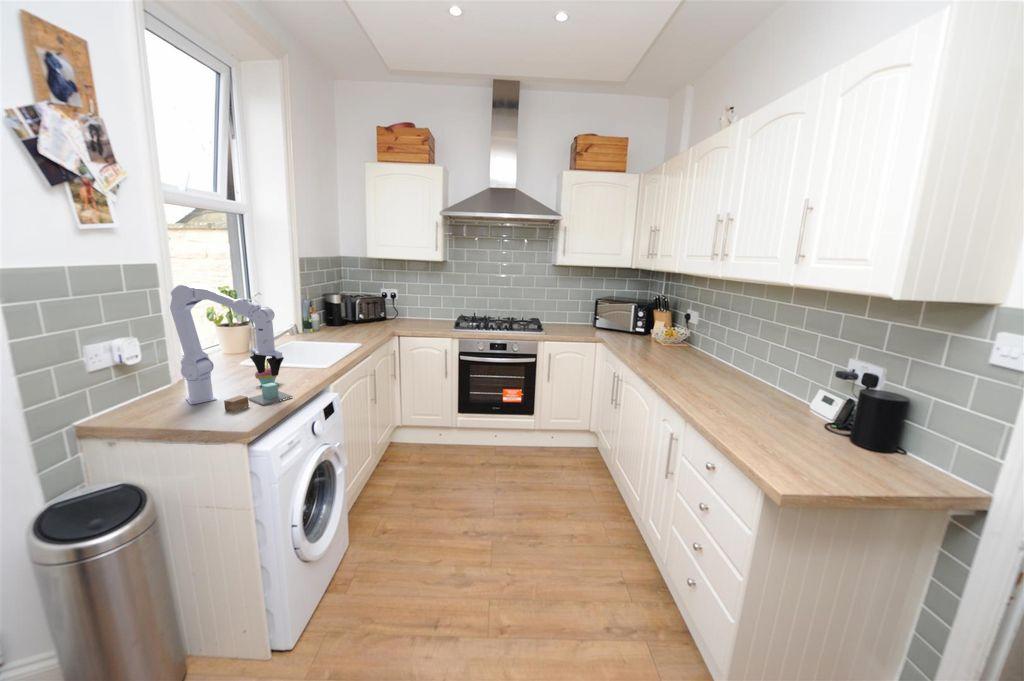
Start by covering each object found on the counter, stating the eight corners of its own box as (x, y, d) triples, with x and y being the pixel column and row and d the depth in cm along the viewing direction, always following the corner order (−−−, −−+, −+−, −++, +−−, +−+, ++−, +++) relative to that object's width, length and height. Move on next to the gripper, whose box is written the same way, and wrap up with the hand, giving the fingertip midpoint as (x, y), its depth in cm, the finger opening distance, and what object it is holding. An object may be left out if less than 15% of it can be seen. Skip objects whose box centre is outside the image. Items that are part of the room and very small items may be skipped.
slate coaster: (248, 399, 156) (248, 397, 156) (277, 392, 165) (277, 390, 165) (263, 405, 150) (263, 403, 150) (292, 398, 159) (292, 396, 159)
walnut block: (225, 411, 145) (224, 400, 144) (240, 405, 150) (239, 395, 150) (233, 412, 144) (232, 401, 143) (248, 407, 149) (247, 396, 148)
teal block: (262, 397, 157) (261, 385, 156) (273, 394, 160) (272, 382, 159) (268, 399, 155) (266, 387, 154) (278, 396, 158) (277, 384, 157)
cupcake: (282, 383, 176) (280, 357, 174) (262, 388, 169) (259, 361, 167) (272, 380, 181) (269, 354, 179) (252, 384, 174) (249, 357, 172)
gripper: (241, 339, 152) (245, 374, 155) (268, 343, 147) (271, 379, 149) (259, 336, 158) (263, 369, 161) (285, 340, 153) (288, 374, 156)
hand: (268, 374), depth 156 cm, fingers open, 7 cm apart
